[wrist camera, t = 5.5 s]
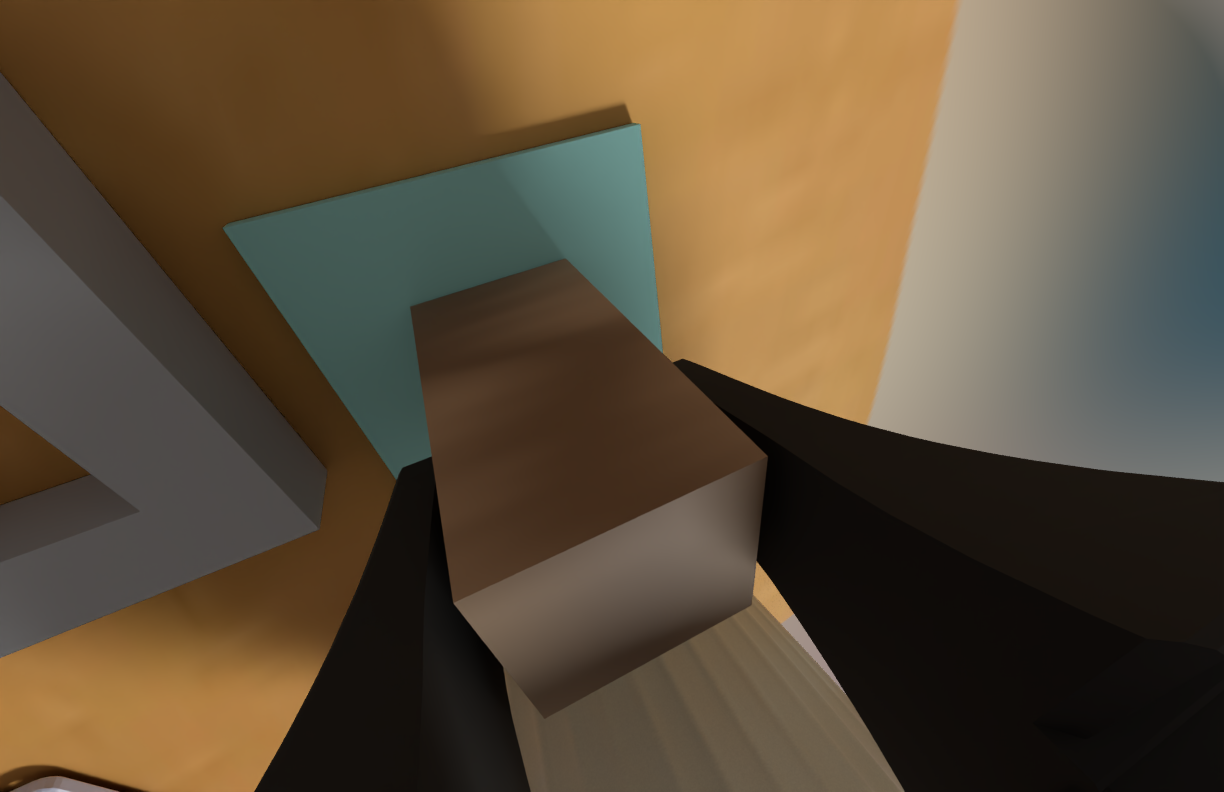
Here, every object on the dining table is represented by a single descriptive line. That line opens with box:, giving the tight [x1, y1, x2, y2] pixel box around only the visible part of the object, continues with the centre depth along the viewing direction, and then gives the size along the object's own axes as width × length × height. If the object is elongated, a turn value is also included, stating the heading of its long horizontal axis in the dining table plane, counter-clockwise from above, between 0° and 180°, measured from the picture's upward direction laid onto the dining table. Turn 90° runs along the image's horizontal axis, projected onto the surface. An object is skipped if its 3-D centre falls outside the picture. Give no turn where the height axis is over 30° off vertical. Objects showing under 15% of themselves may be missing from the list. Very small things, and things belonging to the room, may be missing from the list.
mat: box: [223, 123, 663, 480], centre depth 13 cm, size 9×9×1 cm
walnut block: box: [410, 258, 768, 719], centre depth 9 cm, size 4×4×8 cm
